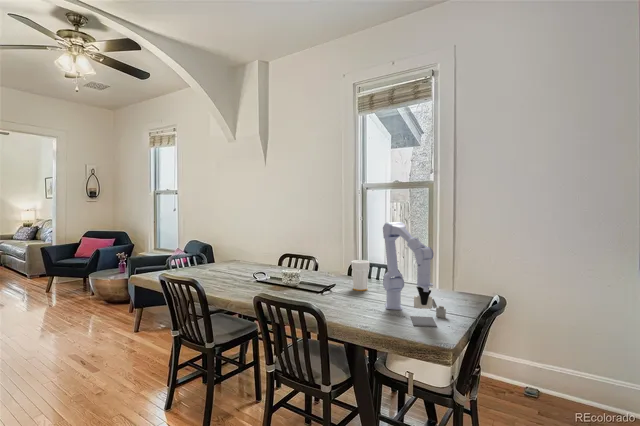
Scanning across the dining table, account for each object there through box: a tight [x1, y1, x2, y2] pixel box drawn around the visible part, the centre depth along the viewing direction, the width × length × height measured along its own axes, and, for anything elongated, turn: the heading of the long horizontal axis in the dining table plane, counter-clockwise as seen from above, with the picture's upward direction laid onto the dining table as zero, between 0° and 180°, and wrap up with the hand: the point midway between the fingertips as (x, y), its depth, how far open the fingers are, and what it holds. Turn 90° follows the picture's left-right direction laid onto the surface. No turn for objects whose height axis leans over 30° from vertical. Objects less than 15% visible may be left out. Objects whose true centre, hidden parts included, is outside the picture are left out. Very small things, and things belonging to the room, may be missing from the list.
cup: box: [350, 259, 371, 292], centre depth 216 cm, size 11×11×17 cm
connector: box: [413, 295, 433, 310], centre depth 157 cm, size 3×8×7 cm, turn 82°
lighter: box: [432, 298, 447, 319], centre depth 165 cm, size 7×2×8 cm, turn 56°
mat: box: [410, 315, 438, 328], centre depth 158 cm, size 12×10×1 cm
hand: (423, 303), depth 157 cm, fingers closed on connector, 3 cm apart
